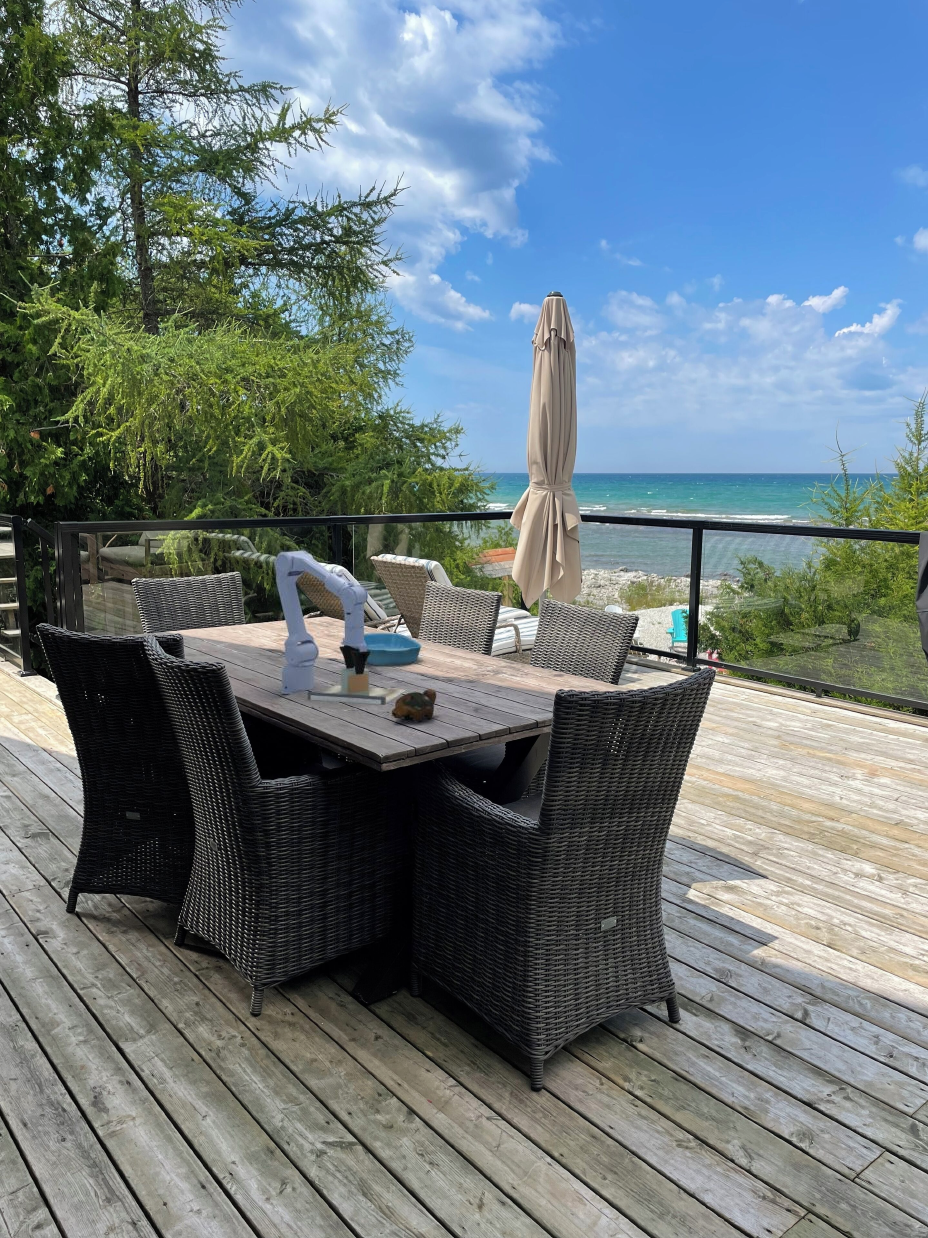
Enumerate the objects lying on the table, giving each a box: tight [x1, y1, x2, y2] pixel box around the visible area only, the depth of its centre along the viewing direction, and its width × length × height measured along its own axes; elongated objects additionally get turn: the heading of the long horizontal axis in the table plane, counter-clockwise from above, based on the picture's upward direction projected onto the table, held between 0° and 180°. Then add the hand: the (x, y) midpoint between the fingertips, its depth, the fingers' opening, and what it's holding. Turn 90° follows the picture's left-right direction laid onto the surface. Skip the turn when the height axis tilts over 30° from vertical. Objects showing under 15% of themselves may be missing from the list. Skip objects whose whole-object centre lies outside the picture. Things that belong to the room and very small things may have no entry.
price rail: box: [307, 691, 387, 705], centre depth 265 cm, size 24×1×4 cm, turn 75°
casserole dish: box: [364, 632, 422, 667], centre depth 339 cm, size 37×22×7 cm, turn 21°
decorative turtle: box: [391, 689, 437, 723], centre depth 250 cm, size 10×15×8 cm, turn 138°
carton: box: [340, 667, 370, 696], centre depth 271 cm, size 5×7×8 cm
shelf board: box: [320, 685, 407, 704], centre depth 275 cm, size 24×18×2 cm
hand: (354, 671), depth 271 cm, fingers open, 7 cm apart
